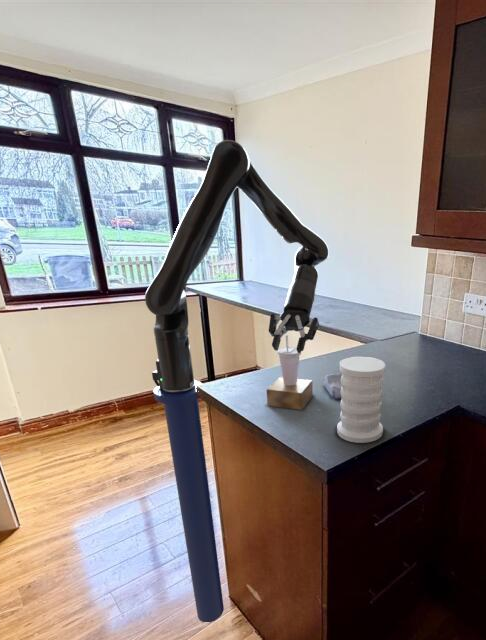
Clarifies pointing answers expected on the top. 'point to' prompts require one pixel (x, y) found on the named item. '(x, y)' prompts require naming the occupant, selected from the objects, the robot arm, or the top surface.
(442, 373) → the top surface
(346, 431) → the decorative container
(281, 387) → the oak block
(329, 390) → the stone block
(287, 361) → the smoothie
